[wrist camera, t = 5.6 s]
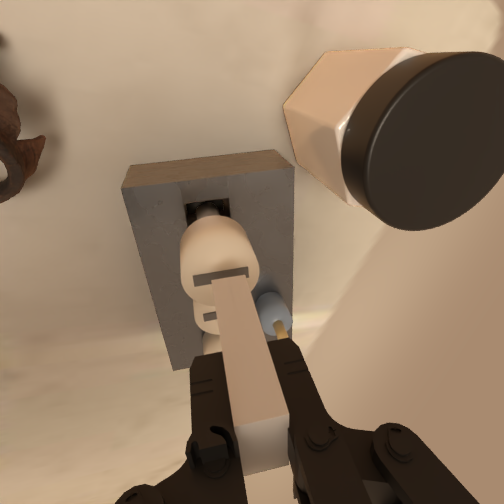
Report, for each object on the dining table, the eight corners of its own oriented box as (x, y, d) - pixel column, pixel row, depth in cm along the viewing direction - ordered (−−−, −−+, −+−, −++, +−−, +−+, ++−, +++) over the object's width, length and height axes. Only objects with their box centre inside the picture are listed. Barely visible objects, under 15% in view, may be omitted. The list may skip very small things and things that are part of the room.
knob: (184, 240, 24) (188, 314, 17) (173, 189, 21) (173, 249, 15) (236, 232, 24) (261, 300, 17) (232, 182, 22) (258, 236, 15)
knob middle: (193, 275, 29) (199, 341, 22) (185, 237, 27) (189, 297, 20) (235, 268, 30) (254, 330, 23) (232, 230, 28) (251, 286, 21)
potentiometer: (256, 316, 27) (269, 358, 23) (254, 294, 26) (268, 335, 22) (283, 311, 27) (300, 351, 24) (283, 289, 26) (301, 328, 22)
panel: (173, 330, 32) (173, 370, 28) (130, 165, 23) (120, 188, 19) (277, 311, 34) (291, 346, 30) (274, 149, 25) (294, 167, 21)
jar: (327, 190, 28) (413, 264, 18) (260, 128, 24) (322, 177, 14) (406, 105, 25) (558, 134, 15) (346, 20, 22) (496, -14, 12)
